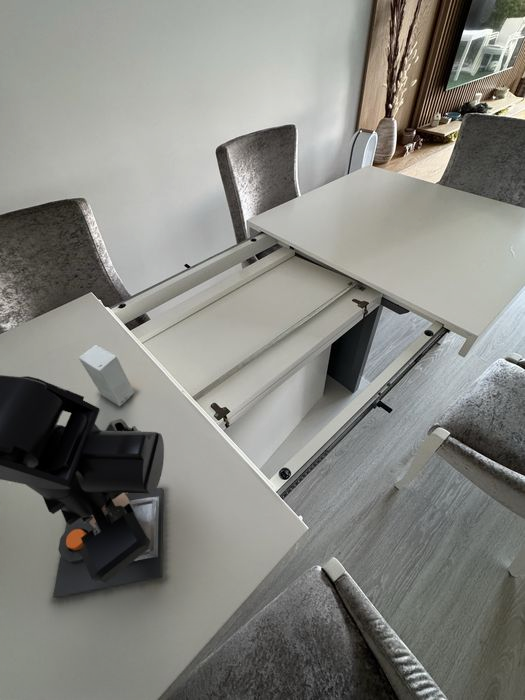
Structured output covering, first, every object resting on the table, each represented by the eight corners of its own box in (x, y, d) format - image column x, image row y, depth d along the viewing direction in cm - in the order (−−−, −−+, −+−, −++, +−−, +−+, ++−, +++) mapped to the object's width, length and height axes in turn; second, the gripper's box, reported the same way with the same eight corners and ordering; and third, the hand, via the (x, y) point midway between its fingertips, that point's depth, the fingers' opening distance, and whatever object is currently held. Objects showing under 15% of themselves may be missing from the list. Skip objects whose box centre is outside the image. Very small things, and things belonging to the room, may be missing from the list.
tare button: (68, 552, 52) (63, 549, 50) (71, 533, 53) (67, 530, 52) (86, 548, 52) (82, 546, 51) (89, 530, 54) (85, 527, 52)
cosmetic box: (135, 392, 73) (117, 356, 64) (120, 407, 71) (99, 371, 62) (115, 380, 75) (95, 343, 66) (100, 394, 73) (76, 358, 64)
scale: (57, 598, 50) (47, 596, 48) (73, 505, 58) (65, 499, 56) (162, 577, 52) (157, 574, 49) (163, 490, 60) (159, 483, 58)
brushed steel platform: (96, 568, 50) (93, 567, 49) (104, 506, 55) (101, 504, 55) (157, 556, 51) (155, 555, 50) (159, 497, 56) (157, 494, 55)
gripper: (178, 490, 35) (199, 530, 47) (102, 375, 44) (135, 433, 56) (66, 574, 30) (121, 595, 42) (8, 425, 39) (66, 477, 51)
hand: (113, 514), depth 48 cm, fingers closed on egg, 5 cm apart
